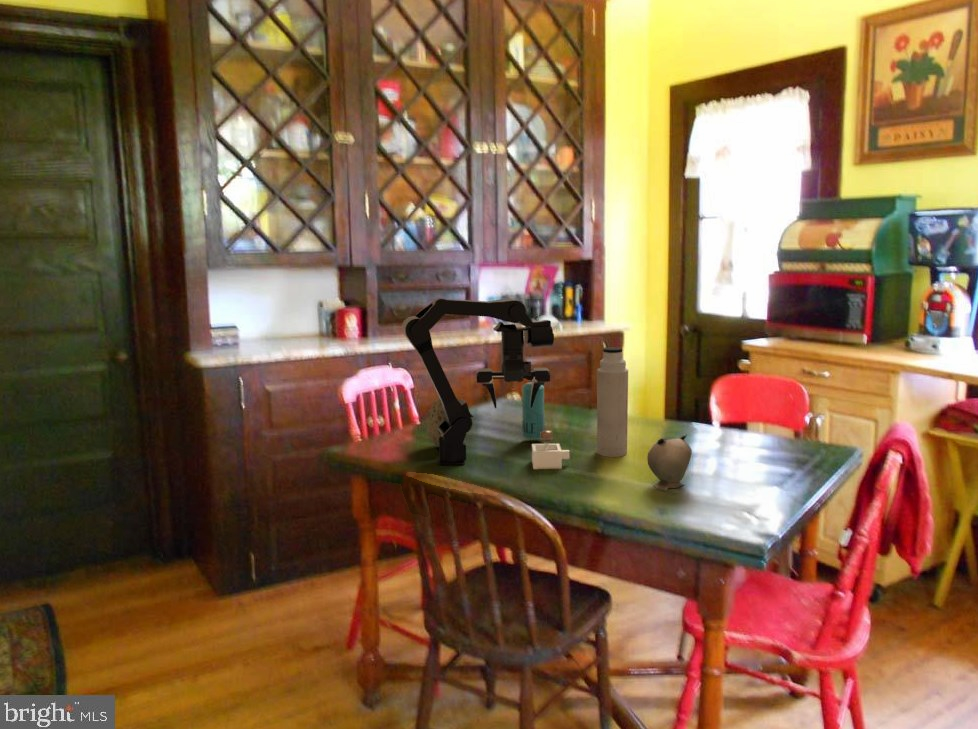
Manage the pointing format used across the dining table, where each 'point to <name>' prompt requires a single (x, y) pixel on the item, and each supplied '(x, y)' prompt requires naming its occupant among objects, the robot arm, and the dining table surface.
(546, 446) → the brown stemmed glass
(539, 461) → the square box with handle
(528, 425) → the beverage bottle
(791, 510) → the dining table surface
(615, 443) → the thermos bottle
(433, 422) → the decorative egg
